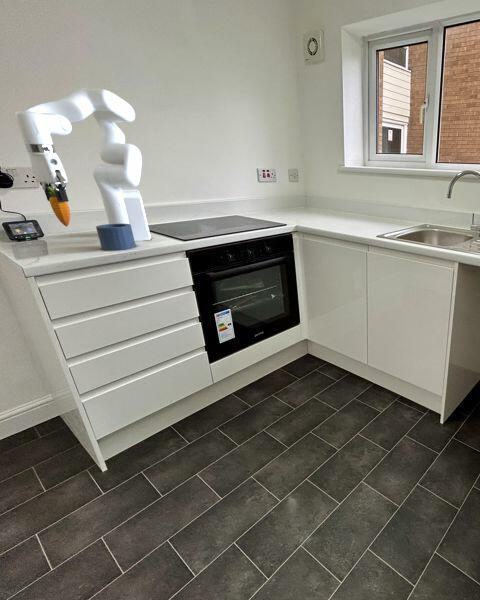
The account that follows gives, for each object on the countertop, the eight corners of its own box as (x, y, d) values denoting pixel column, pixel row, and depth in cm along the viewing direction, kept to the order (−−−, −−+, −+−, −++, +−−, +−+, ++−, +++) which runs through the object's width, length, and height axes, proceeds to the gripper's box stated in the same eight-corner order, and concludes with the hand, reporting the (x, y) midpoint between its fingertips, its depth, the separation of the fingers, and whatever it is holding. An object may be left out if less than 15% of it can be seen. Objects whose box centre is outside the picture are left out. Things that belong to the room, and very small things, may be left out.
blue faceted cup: (122, 243, 153) (117, 222, 149) (142, 246, 150) (137, 224, 146) (95, 248, 143) (88, 226, 139) (115, 251, 140) (109, 229, 136)
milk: (149, 240, 160) (138, 190, 152) (133, 241, 157) (121, 190, 149) (151, 237, 165) (140, 189, 157) (135, 238, 162) (123, 189, 154)
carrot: (78, 225, 140) (65, 186, 134) (66, 227, 135) (52, 187, 129) (67, 224, 140) (54, 185, 134) (54, 227, 136) (40, 186, 130)
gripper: (69, 150, 128) (84, 201, 135) (37, 149, 133) (54, 198, 140) (44, 150, 121) (62, 204, 128) (12, 148, 126) (31, 200, 133)
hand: (58, 200), depth 134 cm, fingers closed on carrot, 4 cm apart
